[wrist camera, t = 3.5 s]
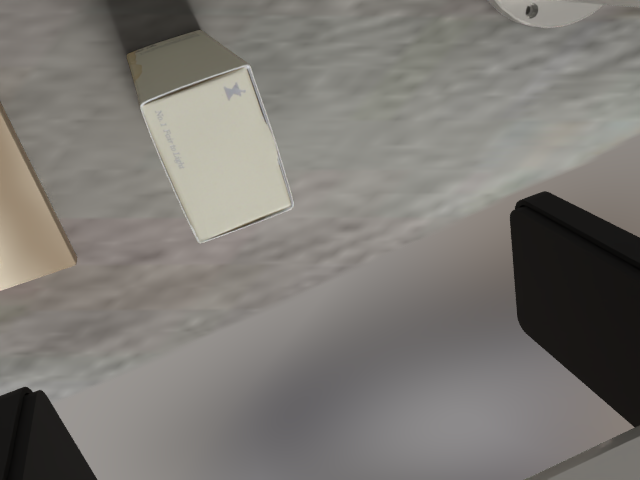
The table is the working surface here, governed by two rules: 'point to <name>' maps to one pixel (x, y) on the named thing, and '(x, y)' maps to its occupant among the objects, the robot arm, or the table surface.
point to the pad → (26, 218)
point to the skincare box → (210, 133)
